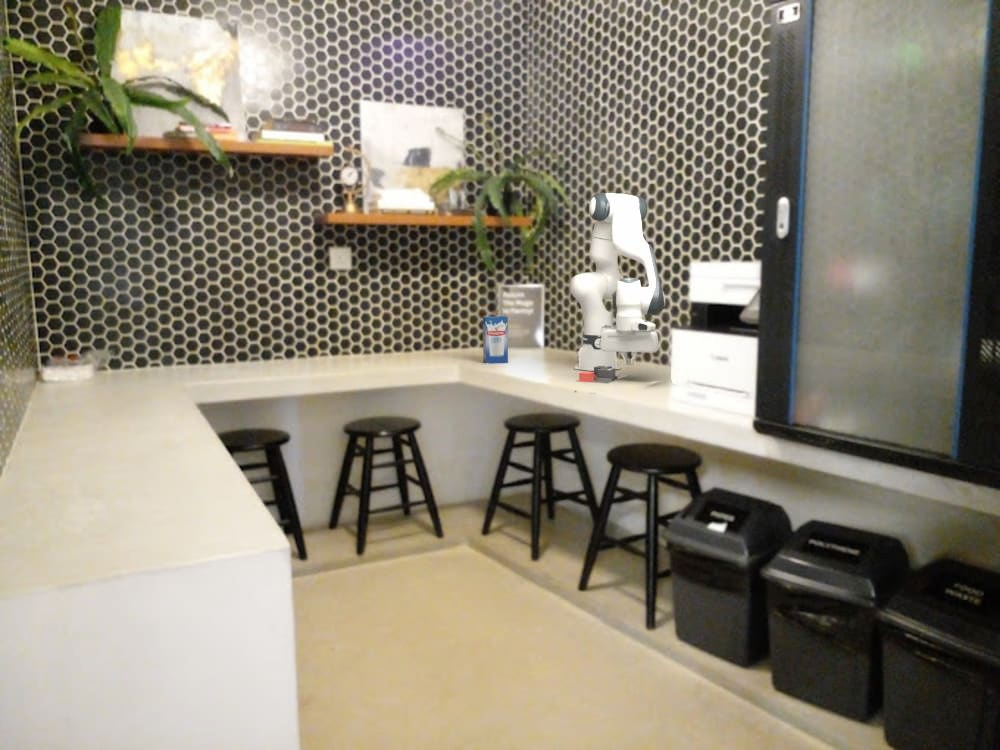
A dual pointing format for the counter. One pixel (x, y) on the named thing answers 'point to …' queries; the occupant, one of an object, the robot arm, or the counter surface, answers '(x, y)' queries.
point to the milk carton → (495, 339)
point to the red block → (586, 376)
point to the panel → (604, 380)
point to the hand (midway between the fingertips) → (629, 364)
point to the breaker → (606, 373)
